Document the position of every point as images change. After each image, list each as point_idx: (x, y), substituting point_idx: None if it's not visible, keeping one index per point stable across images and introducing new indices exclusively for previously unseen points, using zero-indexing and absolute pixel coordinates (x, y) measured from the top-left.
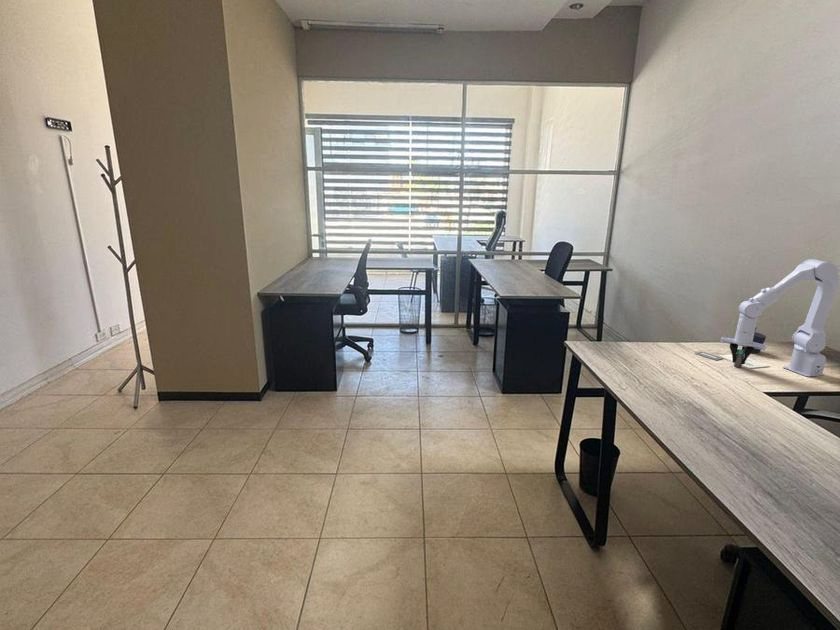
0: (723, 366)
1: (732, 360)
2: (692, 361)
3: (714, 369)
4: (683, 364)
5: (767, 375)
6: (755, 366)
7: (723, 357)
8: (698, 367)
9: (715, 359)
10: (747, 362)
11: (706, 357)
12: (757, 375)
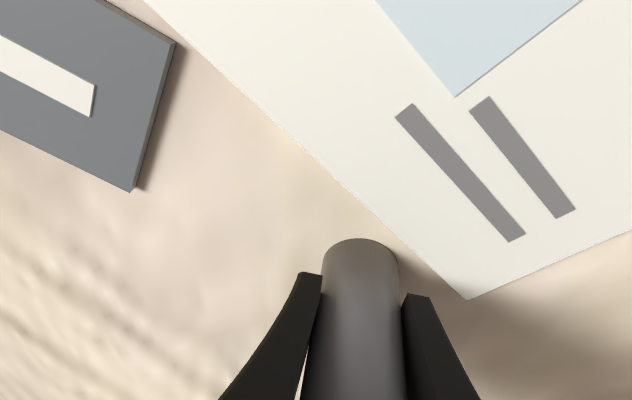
0: (235, 311)
1: (304, 120)
2: (7, 293)
3: (193, 376)
4: (14, 358)
5: (589, 376)
6: (583, 232)
7: (165, 20)
8: (103, 374)
9: (115, 177)
10: (533, 100)
11: (6, 126)
12: (487, 392)
